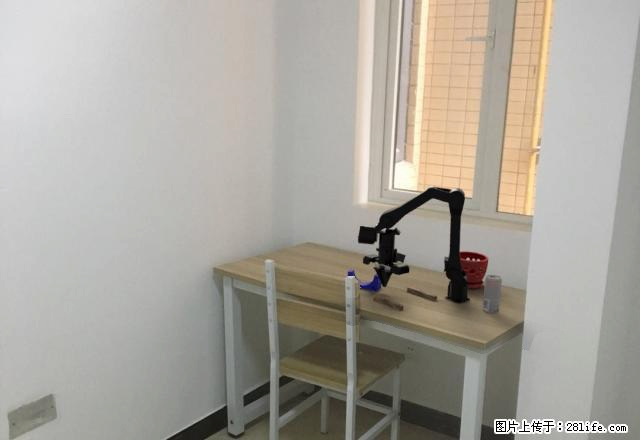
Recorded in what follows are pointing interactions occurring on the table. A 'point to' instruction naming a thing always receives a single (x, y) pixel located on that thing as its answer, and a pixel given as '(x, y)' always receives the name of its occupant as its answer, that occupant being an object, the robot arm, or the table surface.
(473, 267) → the plant pot
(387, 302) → the brown wooden bars
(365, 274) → the table surface
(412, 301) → the table surface
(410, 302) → the table surface
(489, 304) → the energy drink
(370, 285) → the cable clip
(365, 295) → the table surface
